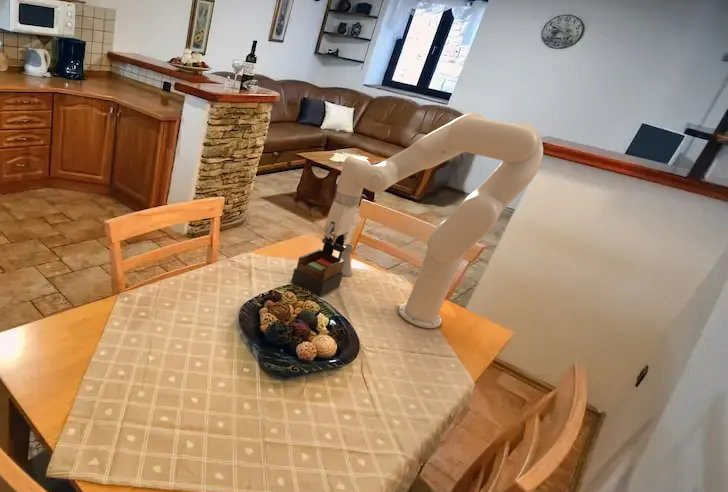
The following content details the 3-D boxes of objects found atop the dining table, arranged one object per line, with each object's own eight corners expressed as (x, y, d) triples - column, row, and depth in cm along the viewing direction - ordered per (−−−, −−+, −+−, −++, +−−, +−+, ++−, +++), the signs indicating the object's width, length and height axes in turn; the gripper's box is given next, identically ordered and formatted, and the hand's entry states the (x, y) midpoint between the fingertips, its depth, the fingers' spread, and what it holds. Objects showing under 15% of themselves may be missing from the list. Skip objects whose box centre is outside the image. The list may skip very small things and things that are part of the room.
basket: (316, 260, 166) (323, 236, 162) (341, 271, 161) (349, 247, 157) (296, 269, 157) (302, 244, 153) (322, 282, 152) (329, 256, 148)
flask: (350, 268, 176) (358, 243, 172) (352, 278, 170) (360, 251, 165) (329, 265, 176) (337, 239, 172) (331, 274, 170) (339, 247, 165)
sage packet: (312, 266, 159) (313, 261, 158) (325, 272, 157) (326, 267, 156) (306, 268, 157) (307, 264, 156) (319, 274, 154) (320, 270, 153)
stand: (310, 273, 168) (314, 259, 166) (339, 286, 162) (343, 273, 160) (290, 282, 160) (294, 268, 157) (319, 297, 154) (323, 283, 152)
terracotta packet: (320, 262, 163) (321, 258, 162) (332, 268, 160) (334, 263, 159) (314, 264, 160) (315, 260, 159) (327, 270, 158) (328, 266, 157)
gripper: (349, 190, 160) (335, 242, 168) (322, 198, 148) (307, 254, 156) (370, 198, 156) (354, 251, 164) (344, 207, 144) (328, 263, 152)
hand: (332, 251), depth 160 cm, fingers open, 5 cm apart
